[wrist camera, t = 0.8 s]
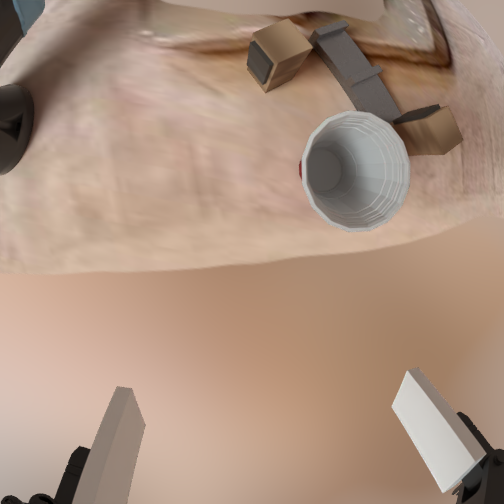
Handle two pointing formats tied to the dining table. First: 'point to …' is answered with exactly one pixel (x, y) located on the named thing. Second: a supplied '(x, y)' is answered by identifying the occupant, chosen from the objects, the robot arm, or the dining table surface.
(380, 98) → the rail
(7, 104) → the robot arm
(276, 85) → the tan wooden block
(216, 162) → the dining table surface
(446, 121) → the block
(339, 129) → the plastic cup
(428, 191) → the dining table surface
